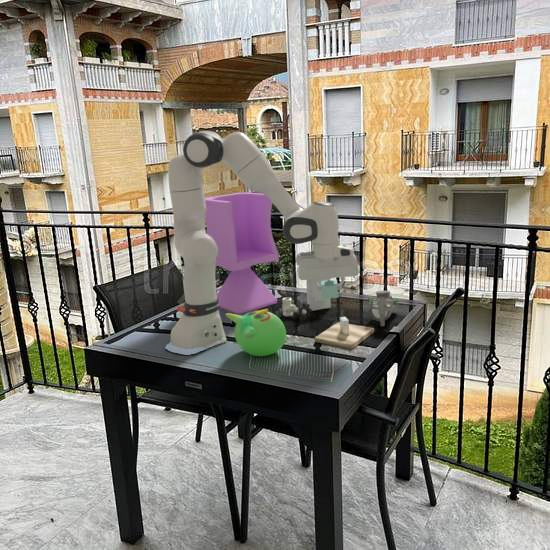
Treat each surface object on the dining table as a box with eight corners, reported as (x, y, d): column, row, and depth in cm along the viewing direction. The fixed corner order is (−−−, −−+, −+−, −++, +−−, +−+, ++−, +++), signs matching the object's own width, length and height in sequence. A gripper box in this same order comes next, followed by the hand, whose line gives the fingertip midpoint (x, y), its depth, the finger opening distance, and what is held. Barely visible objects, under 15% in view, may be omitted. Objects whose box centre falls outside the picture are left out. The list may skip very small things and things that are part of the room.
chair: (236, 317, 210) (225, 202, 198) (208, 305, 228) (196, 199, 216) (282, 303, 223) (274, 194, 211) (251, 292, 240) (242, 191, 228)
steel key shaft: (349, 334, 180) (348, 320, 179) (343, 335, 180) (342, 321, 179) (345, 330, 184) (345, 316, 183) (340, 331, 184) (339, 317, 182)
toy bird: (297, 355, 171) (294, 311, 167) (249, 370, 163) (245, 324, 159) (269, 338, 186) (266, 298, 182) (225, 351, 178) (220, 309, 174)
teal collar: (338, 297, 177) (337, 285, 176) (322, 298, 178) (321, 286, 177) (337, 290, 184) (336, 278, 183) (322, 291, 185) (321, 279, 184)
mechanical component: (370, 322, 194) (369, 296, 191) (398, 325, 189) (397, 298, 186) (367, 325, 191) (366, 298, 189) (395, 328, 186) (394, 301, 183)
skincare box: (312, 311, 210) (309, 274, 206) (307, 306, 216) (304, 271, 212) (332, 307, 212) (330, 271, 208) (326, 303, 218) (324, 268, 214)
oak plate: (352, 349, 172) (352, 344, 172) (315, 341, 180) (314, 337, 180) (374, 332, 185) (373, 328, 184) (338, 326, 193) (338, 322, 192)
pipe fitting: (389, 322, 191) (388, 294, 190) (368, 321, 196) (367, 293, 194) (402, 315, 201) (401, 288, 199) (382, 314, 205) (381, 288, 204)
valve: (278, 316, 208) (299, 322, 199) (277, 300, 206) (298, 306, 197) (290, 311, 212) (312, 317, 203) (289, 295, 210) (311, 301, 201)
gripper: (295, 255, 175) (298, 295, 179) (358, 250, 173) (360, 290, 177) (295, 250, 181) (299, 289, 185) (356, 245, 179) (359, 285, 183)
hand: (329, 290), depth 181 cm, fingers closed on teal collar, 5 cm apart
